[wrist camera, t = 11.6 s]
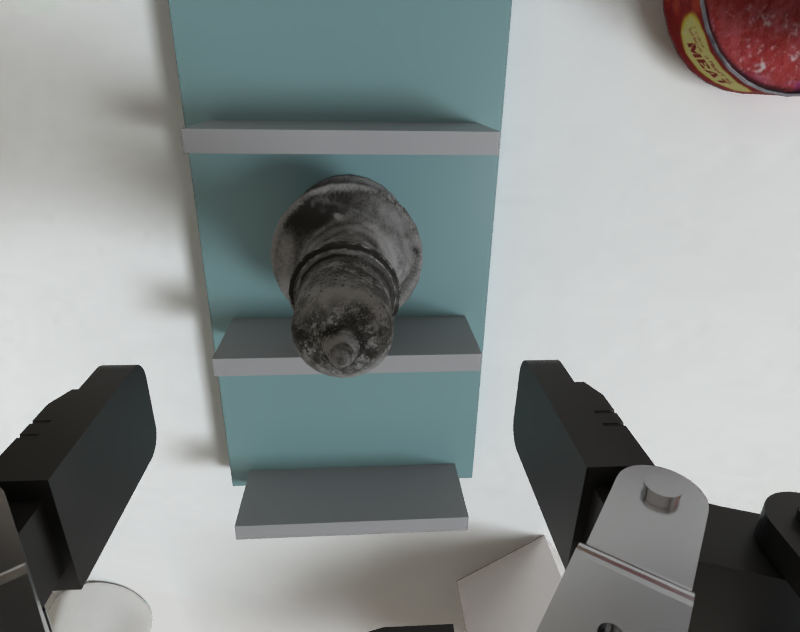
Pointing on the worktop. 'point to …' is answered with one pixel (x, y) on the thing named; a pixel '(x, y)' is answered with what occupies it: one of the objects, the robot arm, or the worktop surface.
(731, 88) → the canned food
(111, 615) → the beer glass
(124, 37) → the worktop surface
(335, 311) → the grey chess piece
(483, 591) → the soap dispenser
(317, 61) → the rack
